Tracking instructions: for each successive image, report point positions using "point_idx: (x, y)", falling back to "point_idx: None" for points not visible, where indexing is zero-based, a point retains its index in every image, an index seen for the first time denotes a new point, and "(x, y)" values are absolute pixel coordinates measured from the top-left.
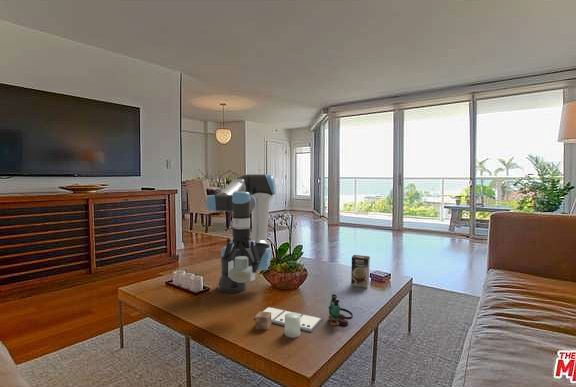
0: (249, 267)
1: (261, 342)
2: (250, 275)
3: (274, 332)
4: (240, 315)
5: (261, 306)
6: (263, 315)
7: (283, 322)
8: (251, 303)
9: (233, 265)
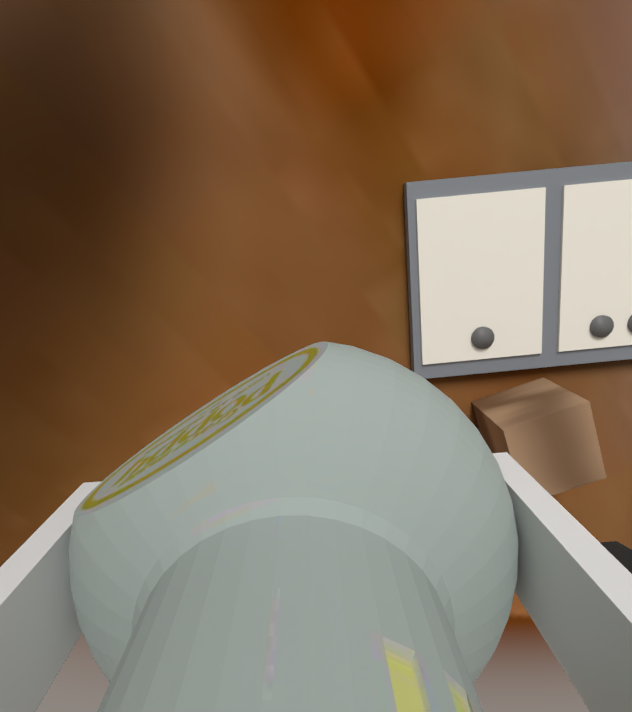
0: (436, 540)
1: None
2: (521, 590)
3: (605, 444)
4: None
5: (332, 182)
6: (563, 466)
7: (622, 344)
8: (229, 177)
9: (10, 598)
